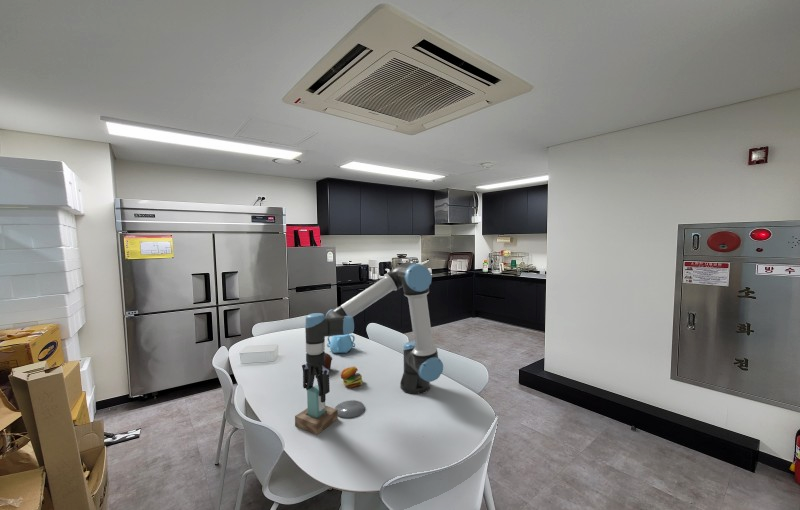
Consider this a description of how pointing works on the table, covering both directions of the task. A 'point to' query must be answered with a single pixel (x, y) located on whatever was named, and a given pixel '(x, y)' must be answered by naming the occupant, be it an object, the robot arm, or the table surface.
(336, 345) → the decorative pot
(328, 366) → the muffin
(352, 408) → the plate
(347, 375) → the cheeseburger
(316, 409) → the post
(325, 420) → the holder
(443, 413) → the table surface
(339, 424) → the table surface
